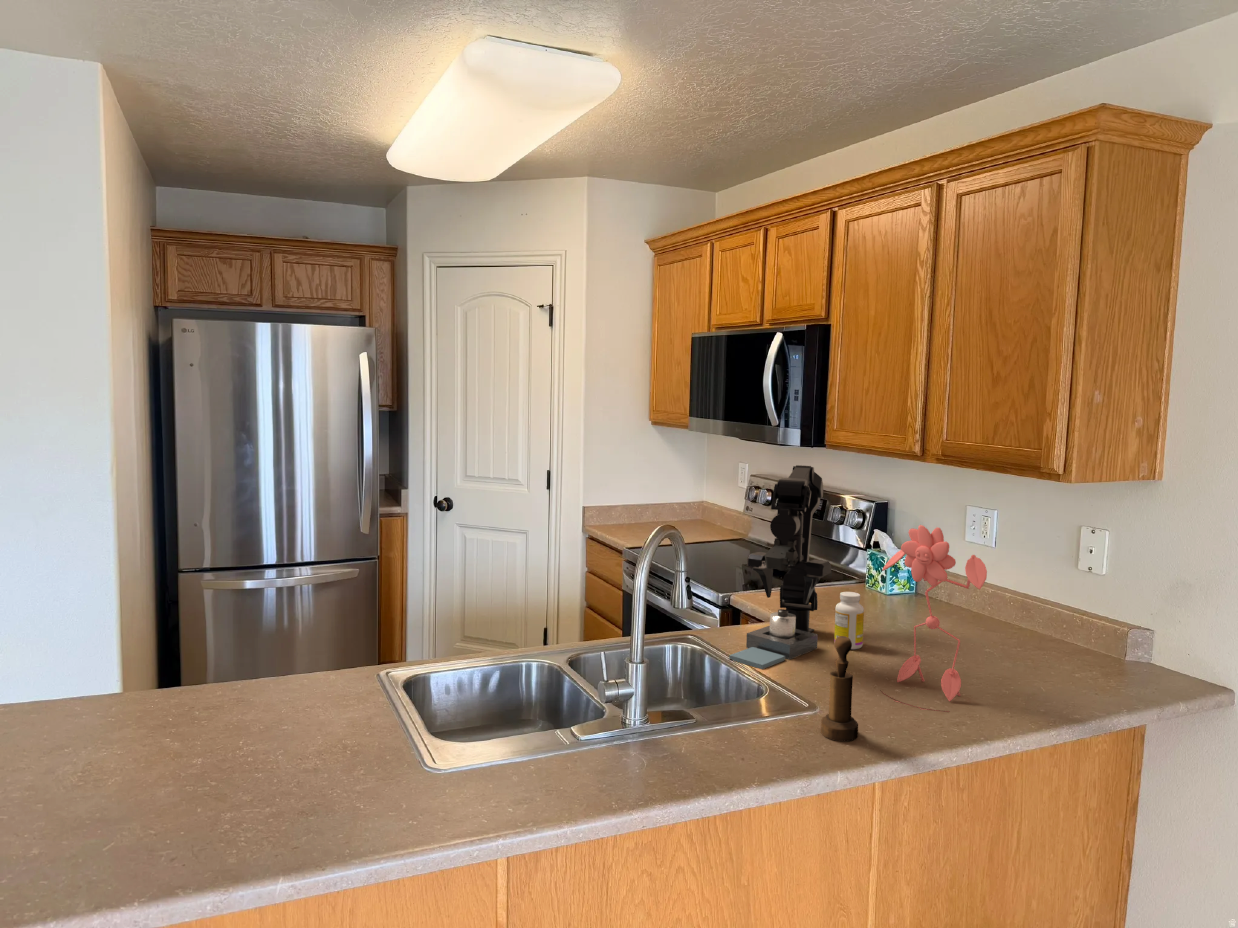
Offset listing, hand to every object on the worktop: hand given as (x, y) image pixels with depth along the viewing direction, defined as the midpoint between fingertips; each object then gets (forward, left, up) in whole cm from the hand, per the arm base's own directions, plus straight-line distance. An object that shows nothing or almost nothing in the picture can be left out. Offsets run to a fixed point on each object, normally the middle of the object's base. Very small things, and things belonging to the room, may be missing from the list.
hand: (786, 600), depth 195 cm
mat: (+8, -2, -13) cm, 15 cm away
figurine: (+1, +33, -13) cm, 36 cm away
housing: (-3, -3, -13) cm, 13 cm away
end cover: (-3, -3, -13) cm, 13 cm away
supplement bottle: (-17, +7, -13) cm, 22 cm away
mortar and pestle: (+31, +32, -13) cm, 47 cm away
